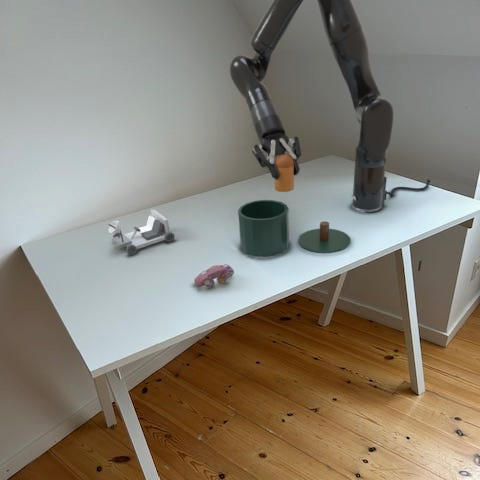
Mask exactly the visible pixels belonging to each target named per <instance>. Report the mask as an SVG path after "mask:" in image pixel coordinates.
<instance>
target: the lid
mask: <svg viewBox="0 0 480 480" xmlns="http://www.w3.org/2000/svg"><path fill="white" fill-rule="evenodd" d="M297 242H298V245H299V246H300V247H301V248H302V249H304V250H305V251H308V252H311V253H316V254H331V253H336V252H340V251H343V250H345V249H346V248H348V247H349V245H350V244H351V237H350V236H349V235H348V234H347V233H346V232H344V231H342V230H339V229H334V228H330V222H329V221H325V220H324V221H321V222H320V223H319V228H314V229H310V230H307V231H305V232H303V233H301V234H300V235H299V237H298V241H297Z"/></svg>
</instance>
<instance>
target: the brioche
mask: <svg viewBox="0 0 480 480" xmlns="http://www.w3.org/2000/svg"><path fill="white" fill-rule="evenodd" d="M274 164H276V167H277V170H278V172H279V175H280V177H279V178H278V179H276V180H275V179H274V190H275V191H277V192H280V193H288V192H291V191H293V190H294V189H295V175H294V162H293V159H292V158H291V157H290V156H289V155H285V154H283V155H277V156H276V158H275V159H274Z"/></svg>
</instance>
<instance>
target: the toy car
mask: <svg viewBox="0 0 480 480" xmlns="http://www.w3.org/2000/svg"><path fill="white" fill-rule="evenodd" d="M121 227H122V226H121V224H120V221H119V220H113V221H111V223H108V233H109V234H113V235H112V237H111V238H110V239H111V242H112V243H113V244H114V245H115V246H116V247H117V248H118V249H122V248H124V247H125V248H126V249H125V251H126V253H127V254H128V255H130V256H134V255H135V254H137V252H138V250H139V249H141V248H145V247H147V246H148V247H149V246H151V245H153V244H157V243H159V242H162V241H166V242H167V243H172V242H173V241H174V240H175V234H174V233H173V232H172V231H171V230H170V225H169V219H168V218H166V216H164V215H163V214H161V213H159V212H158V211H157V210H155V209H154V208H152V209H150V214H149V215H148V218H147V221H146V225H144V226H140V227H136V226H134V227H133V229H134V230H133V231H130V232H127V233H124V234H123V233H122V228H121Z"/></svg>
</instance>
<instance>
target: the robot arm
mask: <svg viewBox="0 0 480 480" xmlns="http://www.w3.org/2000/svg"><path fill="white" fill-rule="evenodd" d="M316 1H317V5H318V9H319V12H320V13H319V14H320V18H321V22H322V27H323V30H324V34H325V38H326V39H327V43H328V46H329V49H330V51H331V54H332V56H333V58H334V61H335V63H336V65H337V68H338V70H339V72H340V74H341V76H342V78H343V79H344V82H345V83H346V85H347V88H348V92H349V94H350V99H351V102H352V105H353V109H354V114H355V117H356V119H357V122H358V123H359V124H360V127H359V128H360V129H359V138H358V142H357V143H356V145H355V157H354V169H353V170H354V171H353V185H352V187H353V188H352V194H351V198H352V199H351V207H352V209H354V210H356V211H360V212H364V213H374V212H378V211H380V210H381V209H382V208H383V207H384V206H385V200H387V195H389V197H391V198H392V197H394V191H396V190H409V191H424V190H426V189H427V188H428V187H429V185H430V183H431V180H430V179H429V178H428V179H426V184H425V185H424V186H423V187H409V186H397V187H396V186H395V187H393V188H392V189H391V191H388V190H386V188H387V179H388V178H387V176H385V174H386V167H387V156H388V155H387V154H388V148H389V146H390V143H391V139H392V132H393V127H394V117H395V115H394V108H393V106H392V103H391V102H390V101H389V100H388V99H386V98H384V97H383V95H382V93H381V92H380V89H379V88H378V85H377V82H376V80H375V77H374V76H373V72H372V66H371V58H370V57H371V56H370V49H369V44H368V41H367V38H366V34H365V32H364V28H363V26H362V23H361V20H360V18H359V15H358V12H357V11H356V8H355V6H354V4H353V2H352V0H316ZM303 2H304V0H273V1H272V2H271V4H270V5H269V7H268V9H267V10H266V12H265V13H264V15H263V16H262V18H261V20H260V22H259V24H258V25H257V27H256V29H255V30H254V32H253V34H252V36H251V37H250V41H249V43H250V47H251V48H252V50H253V51H254V54H253V57H250V56H247V55H245V54H238V55H235V56H233V58H232V59H231V61H230V63H229V77H230V79H231V81H232V83H233V85H234V86H235V88H236V89H237V91H238V92H239V94H240V96H241V97H242V98H243V99H244V101H245V105H246V106H247V109H248V112H249V115H250V119H251V122H252V126H253V127H254V130H255V133H256V135H257V139H258V141H259V143H260V144H256V143H255V144H254V145H253V147H252V150H251V152H252V154H253V156H254V157H255V159H256V160H257V162H258V163H259V166H260V167H261V168H268V170H269V172H270V175H271V178H273V179H274V181H275V180H276V179H278V178H279V177H280V175H279V172H278V170H277V167H276V164H274V163H275V157H278V156H280V155H283V154H285V155H289V156H290V157H291V158H292V159H293V162H294V176H298V174H299V173H300V170H301V168H300V165H299V163H298V161H299V159H300V157H302V149H301V145H300V140H299V137H298V136H294V137H293V138H290V137H289V136H288V135H287V134H286V131H285V130H286V129H285V128H284V125H283V122H282V119H281V117H280V114H279V112H278V110H277V106H275V104H274V102H273V99H272V97H271V94H270V91H269V90H268V87H267V86H266V85H265V84H263V83H262V82H263V81H264V80H265V77H266V75H267V73H268V69H269V66H270V63H271V61H272V57H273V53H274V52H275V50H276V49H277V47H278V46H279V44H280V43H281V40H282V39H283V37H284V35H285V33H286V32H287V30H288V28H289V26H290V24H291V23H292V21H293V19H294V17H295V15H296V13H297V12H298V10H299V8H300V7H301V5H302V4H303ZM263 151H264V152H265V153H266V156H265V154H264V152H263ZM422 261H423V260H419V261H418V262H419V263H418V267H417V271H418V272H420V271H421V266H422Z"/></svg>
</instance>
